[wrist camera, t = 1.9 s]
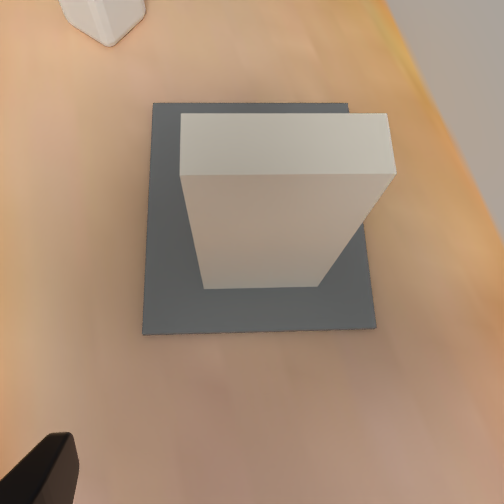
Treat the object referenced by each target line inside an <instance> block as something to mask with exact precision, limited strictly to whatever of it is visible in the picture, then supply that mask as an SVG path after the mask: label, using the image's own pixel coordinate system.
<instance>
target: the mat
mask: <svg viewBox="0 0 504 504" xmlns="http://www.w3.org/2000/svg"><path fill="white" fill-rule="evenodd" d="M181 113H349V109H348V103H153V115H152V137H151V158H150V179H149V200H148V221H147V242H146V264H145V285H144V306H143V327H142V334H143V335H172V334H209V333H245V332H282V331H318V330H355V329H375V328H376V320H375V312H374V304H373V296H372V289H371V281H370V273H369V265H368V257H367V250H366V242H365V234H364V226H363V222H362V224H361V225H360V227H359V228H358V229H357V231H356V232H355V234H354V235H353V237H352V238H351V239H350V241H349V242H348V244H347V245H346V247H345V248H344V249H343V251H342V252H341V254H340V255H339V257H338V258H337V259H336V261H335V262H334V264H333V265H332V267H331V268H330V269H329V271H328V272H327V274H326V275H325V277H324V278H323V279H322V281H321V282H320V284H319V285H318V287H279V288H234V289H204V287H203V282H202V277H201V273H200V268H199V263H198V259H197V254H196V250H195V245H194V240H193V236H192V231H191V226H190V222H189V217H188V212H187V208H186V203H185V198H184V194H183V189H182V184H181V180H180V131H181Z"/></svg>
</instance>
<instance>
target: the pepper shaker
mask: <svg viewBox="0 0 504 504" xmlns="http://www.w3.org/2000/svg"><path fill="white" fill-rule="evenodd" d="M58 1H59V3H60V6H61V8H62V10H63V13H64V15H65V17H66V19H67V20H68V22H69V23H70V24H71V25H72V26H74V27H76V28H77V29H79V30H80V31H82V32H84V33H85V34H87V35H88V36H90V37H92V38H93V39H95V40H96V41H98V42H100V43H101V44H103V45H104V46H108V47H111V46H114V45H115V44H116V43H117V42H119V41H120V40H121V39H122V38H123V37H124V36H125V35H126V34H127V33H128V32H129V31H130V30H131V29H132V28H133V27H135V26H136V25H137V24H138V23H139V22H140V21H141V20H142V19H143V17H144V15H145V11H146V9H145V4H144V0H58Z"/></svg>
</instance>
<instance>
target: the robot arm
mask: <svg viewBox="0 0 504 504" xmlns="http://www.w3.org/2000/svg"><path fill="white" fill-rule="evenodd" d="M78 474H79V459H78V455H77V450H76V446H75V442H74V438H73V435H72V434H71V433H70V432H59V433H50V434H49V435H47V436H46V437H45V438H44V439H43V440H42V441H41V442H40V443H38V444H37V445H36V446H35V447H34V448H33V449H32V450H31V451H30V452H29V453H28V454H27V455H26V456H25V457H24V458H23V459H22V460H21V461H20V462H19V463H18V464H17V465H16V466H15V467H14V468H13V469H12V470H11V471H10V472H9V473H8V474H7V475H6V476H5V477H4V478H2V479H1V480H0V504H73V499H74V494H75V489H76V484H77V479H78Z"/></svg>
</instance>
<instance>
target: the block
mask: <svg viewBox="0 0 504 504" xmlns="http://www.w3.org/2000/svg"><path fill="white" fill-rule="evenodd" d="M396 174H397V172H396V166H395V160H394V154H393V147H392V141H391V135H390V129H389V123H388V117H387V113H181V131H180V180H181V184H182V189H183V194H184V198H185V203H186V208H187V212H188V217H189V222H190V226H191V231H192V236H193V240H194V245H195V250H196V254H197V259H198V263H199V268H200V273H201V277H202V282H203V287H204V289H234V288H279V287H318V285H319V284H320V282H321V281H322V279H323V278H324V277H325V275H326V274H327V272H328V271H329V269H330V268H331V267H332V265H333V264H334V262H335V261H336V259H337V258H338V257H339V255H340V254H341V252H342V251H343V249H344V248H345V247H346V245H347V244H348V242H349V241H350V239H351V238H352V237H353V235H354V234H355V232H356V231H357V229H358V228H359V227H360V225H361V224H362V222H363V221H364V219H365V218H366V217H367V215H368V214H369V212H370V211H371V210H372V208H373V207H374V205H375V204H376V202H377V201H378V200H379V198H380V197H381V195H382V194H383V192H384V191H385V190H386V188H387V187H388V185H389V184H390V182H391V181H392V180H393V178H394V177H395V175H396Z"/></svg>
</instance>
